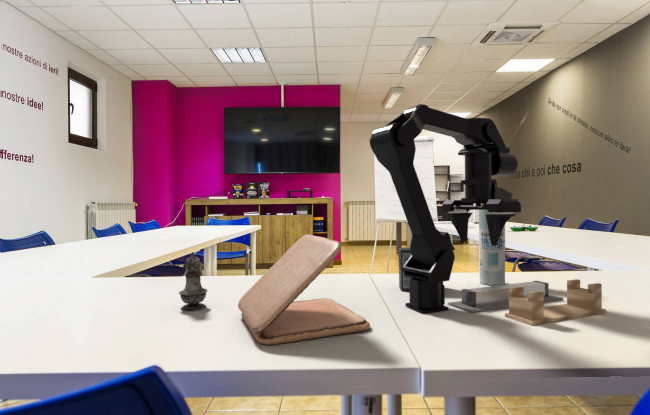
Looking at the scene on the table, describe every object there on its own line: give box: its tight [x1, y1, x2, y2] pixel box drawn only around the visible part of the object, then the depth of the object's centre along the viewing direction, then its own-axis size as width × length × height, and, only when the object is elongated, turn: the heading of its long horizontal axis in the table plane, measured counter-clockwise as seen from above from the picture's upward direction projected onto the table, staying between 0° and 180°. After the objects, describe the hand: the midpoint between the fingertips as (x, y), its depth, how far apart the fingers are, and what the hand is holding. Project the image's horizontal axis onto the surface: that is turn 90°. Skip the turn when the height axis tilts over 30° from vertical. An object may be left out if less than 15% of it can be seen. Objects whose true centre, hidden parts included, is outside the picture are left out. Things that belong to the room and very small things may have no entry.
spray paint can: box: [478, 210, 506, 287], centre depth 104 cm, size 6×6×20 cm
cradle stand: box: [504, 278, 607, 326], centre depth 75 cm, size 20×6×6 cm, turn 112°
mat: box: [447, 294, 564, 314], centre depth 85 cm, size 26×7×1 cm, turn 112°
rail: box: [461, 280, 550, 307], centre depth 85 cm, size 22×3×3 cm, turn 112°
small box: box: [398, 247, 430, 292], centre depth 99 cm, size 11×6×10 cm, turn 84°
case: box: [237, 234, 371, 346], centre depth 73 cm, size 20×21×16 cm
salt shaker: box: [178, 252, 209, 312], centre depth 84 cm, size 6×6×12 cm
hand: (478, 243), depth 89 cm, fingers open, 9 cm apart
